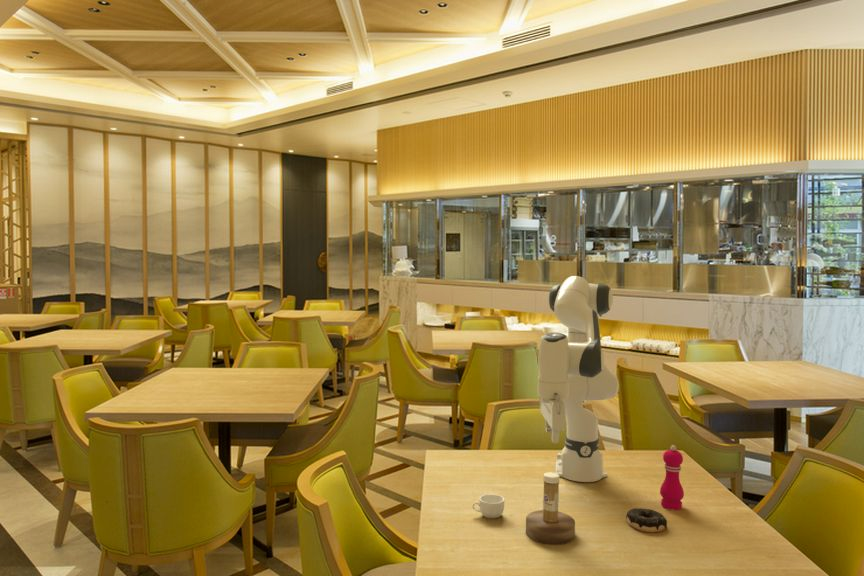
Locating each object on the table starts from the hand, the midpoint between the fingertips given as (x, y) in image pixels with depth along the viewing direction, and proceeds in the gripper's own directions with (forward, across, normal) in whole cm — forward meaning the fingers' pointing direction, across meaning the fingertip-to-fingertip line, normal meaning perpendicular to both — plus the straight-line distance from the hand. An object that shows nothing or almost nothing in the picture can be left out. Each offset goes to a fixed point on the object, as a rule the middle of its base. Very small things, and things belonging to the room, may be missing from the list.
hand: (551, 437), depth 182 cm
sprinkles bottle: (+25, 0, 0) cm, 25 cm away
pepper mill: (+29, +21, -43) cm, 56 cm away
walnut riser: (+28, 0, 0) cm, 28 cm away
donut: (+29, +7, -30) cm, 42 cm away
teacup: (+29, +12, +17) cm, 35 cm away
